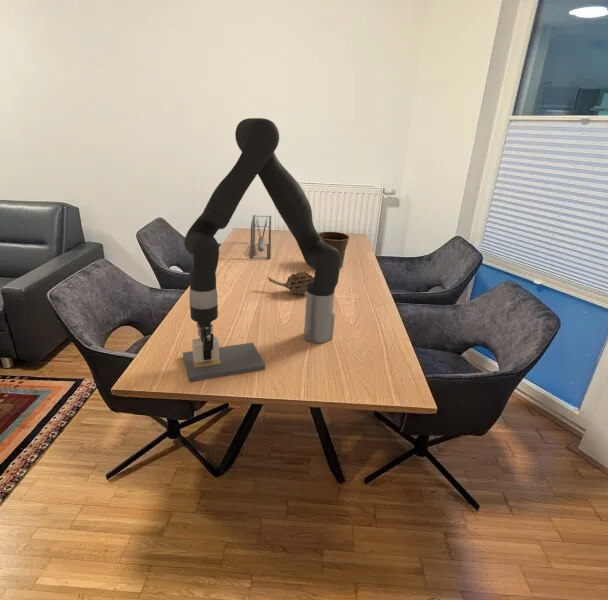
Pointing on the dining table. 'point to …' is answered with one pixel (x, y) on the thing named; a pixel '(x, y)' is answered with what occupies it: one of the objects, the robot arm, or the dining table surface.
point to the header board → (225, 362)
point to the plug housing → (199, 351)
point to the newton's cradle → (261, 241)
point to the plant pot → (336, 242)
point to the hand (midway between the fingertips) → (206, 355)
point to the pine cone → (296, 282)
